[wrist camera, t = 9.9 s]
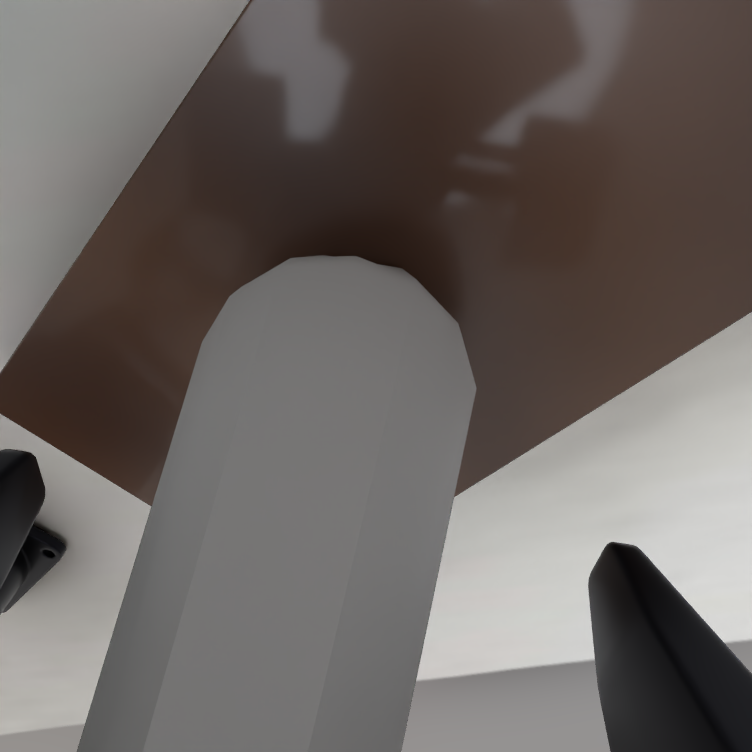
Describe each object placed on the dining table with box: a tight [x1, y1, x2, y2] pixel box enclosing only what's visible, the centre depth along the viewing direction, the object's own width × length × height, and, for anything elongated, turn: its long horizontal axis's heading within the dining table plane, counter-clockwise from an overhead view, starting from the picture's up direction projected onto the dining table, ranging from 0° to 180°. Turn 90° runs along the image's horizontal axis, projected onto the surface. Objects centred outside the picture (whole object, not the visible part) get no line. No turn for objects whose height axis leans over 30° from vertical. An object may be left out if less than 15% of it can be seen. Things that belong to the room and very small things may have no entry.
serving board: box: [0, 0, 752, 506], centre depth 15 cm, size 20×12×2 cm, turn 137°
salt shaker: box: [77, 255, 477, 752], centre depth 9 cm, size 6×6×13 cm
